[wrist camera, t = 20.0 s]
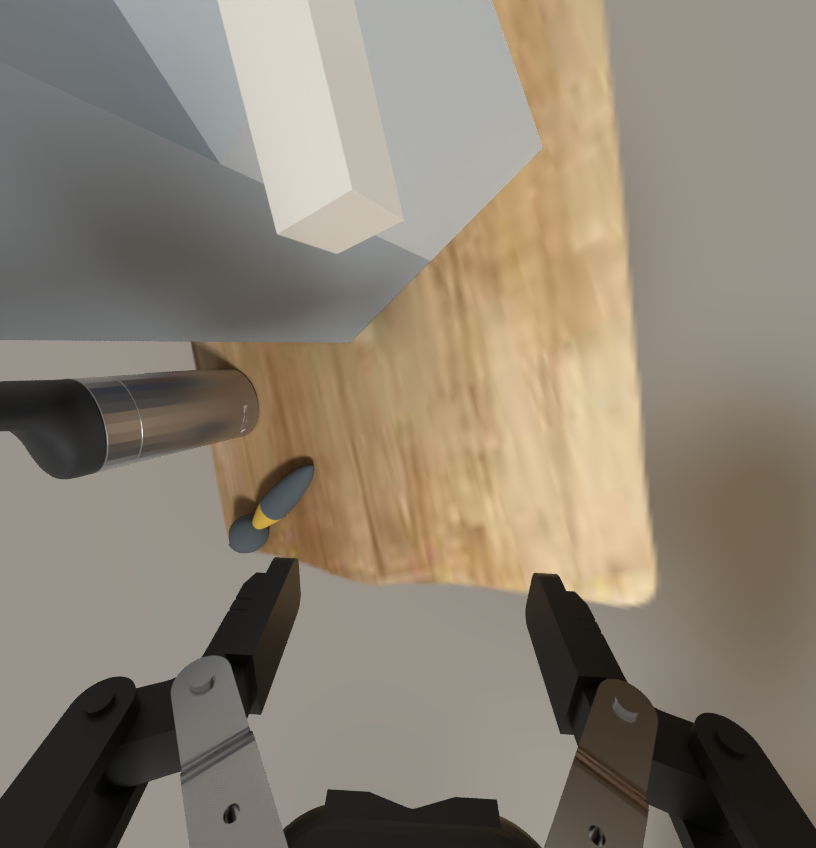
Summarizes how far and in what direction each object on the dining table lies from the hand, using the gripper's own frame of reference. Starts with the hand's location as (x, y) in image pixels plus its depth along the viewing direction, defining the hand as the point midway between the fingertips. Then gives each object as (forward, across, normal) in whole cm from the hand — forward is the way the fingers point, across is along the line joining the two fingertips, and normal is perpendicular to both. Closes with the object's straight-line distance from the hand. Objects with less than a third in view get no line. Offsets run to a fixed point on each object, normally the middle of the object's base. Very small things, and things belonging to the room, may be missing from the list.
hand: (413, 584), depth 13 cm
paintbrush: (+34, +17, +20) cm, 43 cm away
